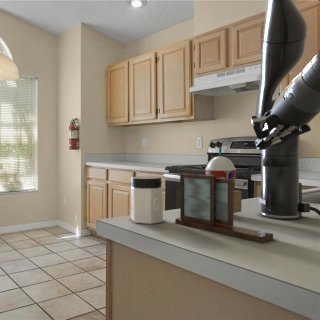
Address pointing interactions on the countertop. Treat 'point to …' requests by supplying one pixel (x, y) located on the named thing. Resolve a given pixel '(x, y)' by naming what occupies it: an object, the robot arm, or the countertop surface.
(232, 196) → the sash
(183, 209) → the window frame
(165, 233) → the countertop surface
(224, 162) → the smoothie
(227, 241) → the countertop surface
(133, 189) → the jar
